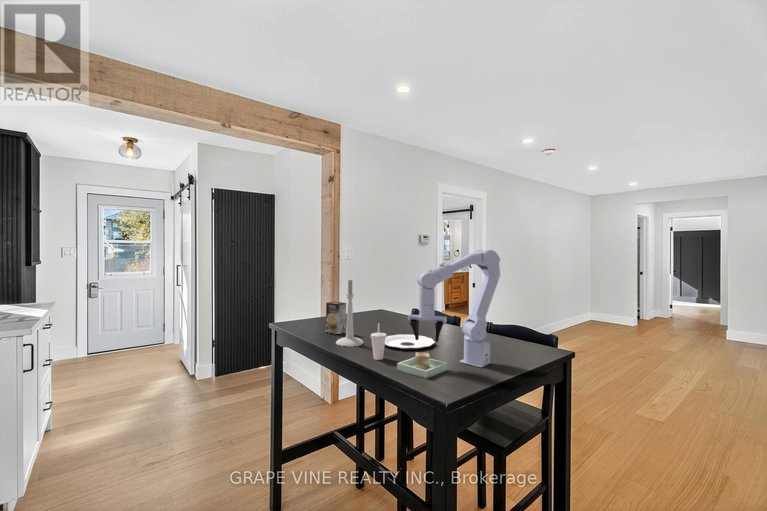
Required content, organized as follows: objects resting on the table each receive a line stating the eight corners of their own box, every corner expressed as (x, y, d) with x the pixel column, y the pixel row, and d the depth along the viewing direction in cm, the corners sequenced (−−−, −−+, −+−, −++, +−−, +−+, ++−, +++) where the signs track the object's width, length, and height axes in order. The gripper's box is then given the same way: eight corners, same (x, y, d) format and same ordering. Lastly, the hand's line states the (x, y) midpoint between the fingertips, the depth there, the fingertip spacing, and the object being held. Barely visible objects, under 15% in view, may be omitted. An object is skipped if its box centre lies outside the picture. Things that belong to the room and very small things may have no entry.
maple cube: (429, 366, 130) (429, 352, 130) (429, 370, 126) (429, 356, 125) (415, 365, 131) (415, 352, 131) (415, 370, 126) (415, 356, 126)
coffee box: (325, 333, 186) (325, 302, 186) (333, 330, 191) (333, 301, 191) (338, 335, 181) (338, 304, 181) (346, 333, 186) (346, 302, 186)
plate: (441, 342, 170) (441, 338, 170) (422, 355, 148) (422, 350, 148) (395, 336, 182) (395, 332, 182) (370, 347, 160) (370, 343, 160)
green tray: (447, 369, 128) (447, 362, 128) (426, 378, 119) (426, 371, 119) (418, 362, 137) (418, 355, 137) (396, 370, 128) (397, 363, 128)
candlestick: (331, 342, 167) (331, 278, 167) (355, 338, 174) (355, 277, 174) (343, 348, 156) (344, 280, 156) (368, 344, 163) (369, 279, 163)
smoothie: (386, 356, 145) (386, 322, 145) (386, 360, 139) (387, 325, 138) (370, 356, 145) (370, 322, 145) (370, 360, 138) (370, 325, 138)
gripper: (447, 304, 135) (447, 339, 135) (411, 302, 140) (411, 336, 140) (444, 306, 129) (444, 344, 129) (406, 304, 133) (406, 340, 133)
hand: (426, 340), depth 134 cm, fingers open, 7 cm apart
